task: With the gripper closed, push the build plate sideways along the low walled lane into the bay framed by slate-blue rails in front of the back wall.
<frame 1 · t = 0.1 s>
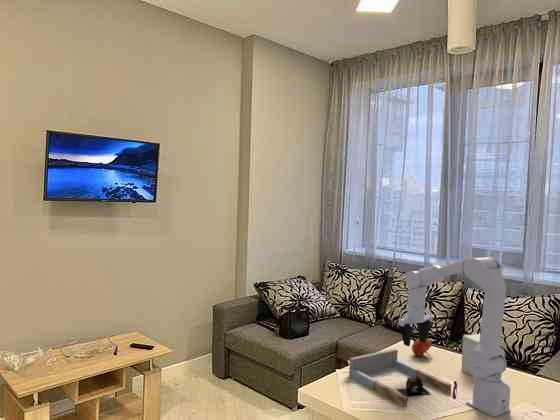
hand: (414, 343, 155), 10 cm above the table, tool pointing down, fingers open, 7 cm apart
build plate: (413, 394, 140), on the table
pomegranate: (421, 356, 171), on the table
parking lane: (399, 384, 145), on the table
supplement box: (476, 373, 157), on the table
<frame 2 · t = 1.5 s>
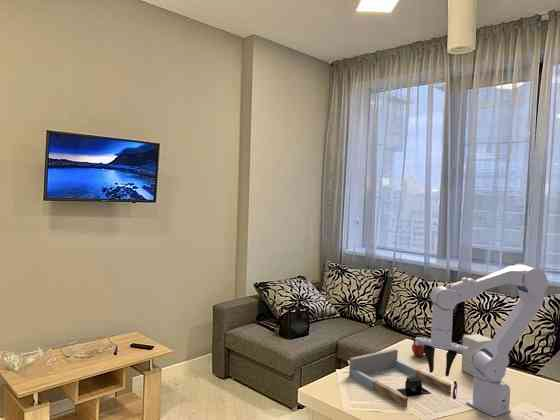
hand: (439, 373, 132), 9 cm above the table, tool pointing down, fingers open, 4 cm apart
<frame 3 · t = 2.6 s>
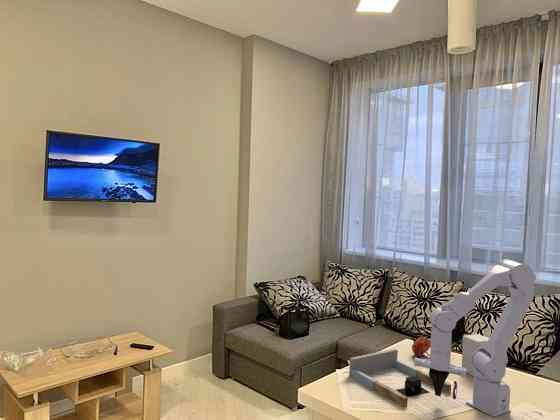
hand: (438, 394, 132), 3 cm above the table, tool pointing down, fingers closed
nothing on the table moved.
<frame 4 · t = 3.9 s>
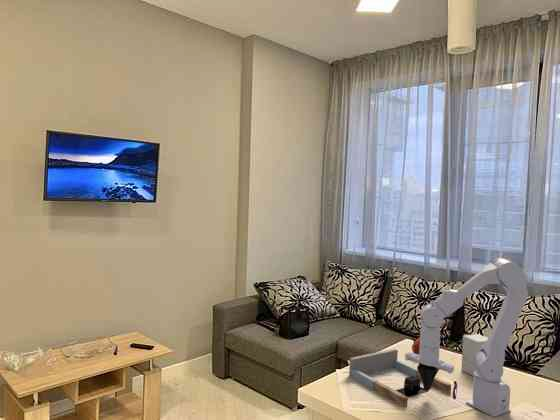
hand: (427, 389, 136), 3 cm above the table, tool pointing down, fingers closed
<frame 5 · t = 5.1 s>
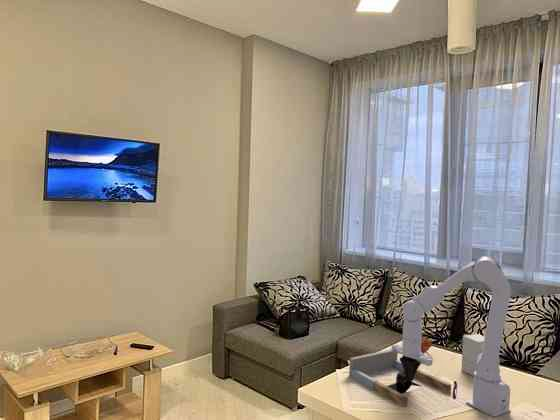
hand: (409, 380, 141), 3 cm above the table, tool pointing down, fingers closed
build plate: (403, 388, 144), on the table, touching gripper
everything else where it was.
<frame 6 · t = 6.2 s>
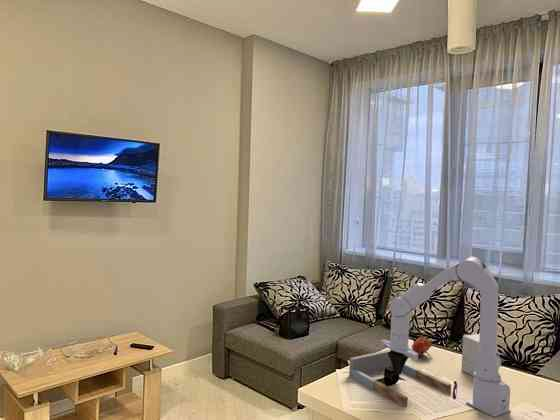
hand: (397, 374, 146), 3 cm above the table, tool pointing down, fingers closed
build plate: (391, 382, 148), on the table, touching gripper
everything else where it was.
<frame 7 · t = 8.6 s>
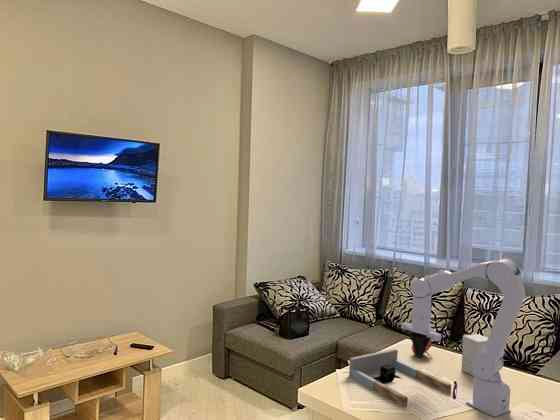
hand: (419, 356, 145), 9 cm above the table, tool pointing down, fingers closed
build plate: (387, 380, 150), on the table
everything else where it was.
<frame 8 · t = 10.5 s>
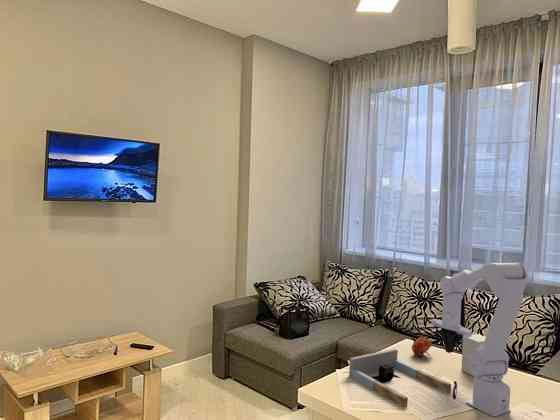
hand: (449, 351, 150), 9 cm above the table, tool pointing down, fingers closed
nothing on the table moved.
at the end: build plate inside the target area (1.1 cm from its centre), on the table; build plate tilted 0°; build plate moved 12.0 cm from its start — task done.
